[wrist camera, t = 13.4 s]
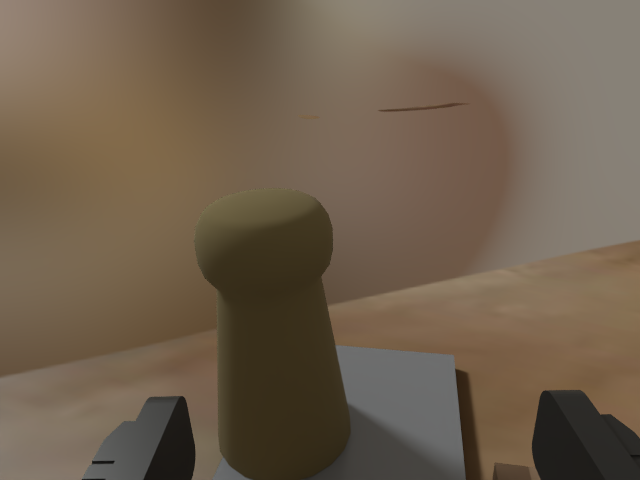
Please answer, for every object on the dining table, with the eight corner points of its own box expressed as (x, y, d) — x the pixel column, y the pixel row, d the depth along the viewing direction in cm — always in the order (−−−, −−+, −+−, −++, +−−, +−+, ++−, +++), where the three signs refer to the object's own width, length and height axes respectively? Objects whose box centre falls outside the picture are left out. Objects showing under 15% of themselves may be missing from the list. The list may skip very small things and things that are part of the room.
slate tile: (211, 499, 19) (209, 485, 19) (279, 351, 28) (278, 340, 28) (468, 540, 17) (470, 524, 17) (452, 367, 26) (453, 355, 26)
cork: (222, 389, 24) (187, 181, 20) (339, 374, 24) (329, 169, 20) (212, 494, 18) (160, 235, 14) (364, 471, 19) (358, 216, 15)
